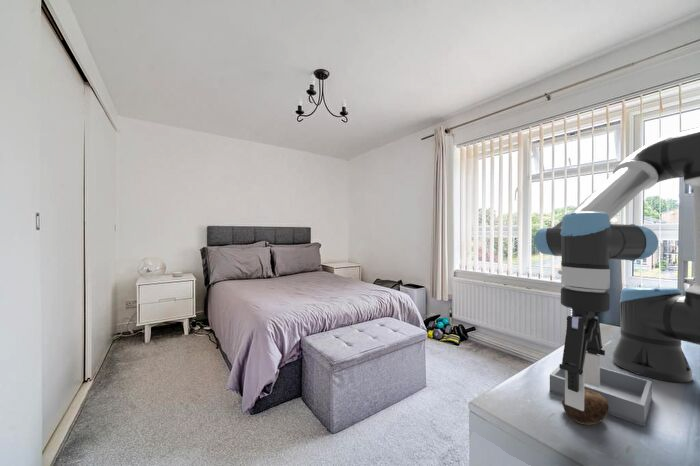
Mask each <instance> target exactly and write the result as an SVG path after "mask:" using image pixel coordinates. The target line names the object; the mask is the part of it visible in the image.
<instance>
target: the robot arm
mask: <svg viewBox="0 0 700 466" xmlns="http://www.w3.org/2000/svg"><path fill="white" fill-rule="evenodd" d="M677 178H683V183H684V184H686V185H688V186H690V187H691V188H692V190H693V191H692V192H693V245H694V246H693V254H694V257H693V258H694V260H693V261H694V283H693V284H692V285H691V286H689V287H687V288H685V289H684V291H685V292H684V293H685V294H683V293H682V291H681V289H680V288H676V287H655V286H654V287H653V286H651V287H650V286H643V287H642V286H640V287H639V286H637V287H636V286H634V287H633V286H631V287H624V288H622V290H621V292H620V297H619V298H620V299H619V306H620V307H619V310H620V311H619V312H620V313H619V314H620V315H619V316H620V317H619V318H620V323H619V324H620V326H619V327H620V336H619V339H618V341H617V343H616V346H615V348H614V350H613V352H612V363H614V364H615V365H616V366H618V367H620V368H621V369H624V370H626V371H628V372H630V373H634V374H638V375H640V376H643V377H647V378H651V379H654V380H660V381H664V382H671V383H672V382H673V383H690V382H692V380H693V371H692V369H691V366H690V364H689V362H688V359H687V357H686V355H685V353H684V351H683V348H682V341H683V342H687V343H691V344H694V345H698V346H700V126H699V127H696V128H693V129H688V130H684V131H679V132H678V133H677V132H676V133H672V134H669V135H665V136H662V137H660V138H657V139H656V140H653V141H651V142H650V143H647V144H645V145H644V146H642V147H641V148H638V150H636V151H634V152H633V153H632V154H629V156H627V157H626V158H625V159H624V160H623V161H621V162H620V163H619V164H618V165H616V166H615V168H614V169H613V171H612V175H611V176H609V178H608V179H606V181H604V182H602V184H601V185H600V186H599V187H597V188H596V189H595V190H594V191H593V192H592V193H591V194H590V195H588V196H587V197H586V198H585V199H584V200H583V201H582V202H581V203H580V204H579V205H578V206H576V207H575V208H574V209H573V210H572V211H570V213H566V214H564V215H563V217H562V220H561V221H560V222H558V223H557V224H556V225H554V226H547V227H541V228H540V229H538V231H537V232H536V233H535V235H534V238H533V239H534V241H533V242H534V246H535V247H536V249H537V251H538V252H539V253H541V254H543V255H546V256H547V255H548V256H554V257H561V263H560V267H561V268H560V269H559V270H558V271H557V274H559V275H561V277H560V283H561V285H562V286H564V287H561V288H560V304H561V305H562V306H563V307H566V308H568V309H569V308H570V309H572V316H571V315H567V317H566V330H565V338H564V345H563V354H562V361H561V363H559V364H558V365H559V366H558V367H560V369H563V370H565V404H566V405H569V406H571V407H574V408H576V409H579V410H581V411H584V383H587V384H590V385H593V386H596V387H600V367H601V356H604V357H605V355H606V350H604V349H603V345H602V335H601V326H600V324H601V323H600V313H605V312H608V311H610V293H609V292H608V291H607V290H610V289H611V269H610V260H616V261H617V260H618V261H620V260H621V261H623V260H624V261H631V262H632V261H635V260H636V261H637V260H639V261H640V260H644V259H647V258H649V257H651V256H653V255H654V254H655V253H656V252H657V250H658V247H659V238H658V236H657V234H656V232H654V231H653V230H652V229H650V228H648V227H646V226H643V225H638V224H637V225H636V224H632V223H631V224H622V223H621V224H618V223H617V224H616V223H614V224H613V223H612V222H611V220H612V219H614V217H615V216H616V215H617V214H618V213H619V212H620V211H622V210H623V209H624V208H625V207H626V206H627V205H628V204H629V203H630V202H631V201H632V200H634V199H635V198H636V197H637V195H639V194H640V193H641V192H642V191H646V190H649V189H651V188H653V187H654V186H655V185H656V184H657V183H659V182H662V181H663V182H664V181H667V180H672V179H677ZM570 363H571V364H574V365H575V366H574V365H571V364H570Z"/></svg>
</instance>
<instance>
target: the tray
mask: <svg viewBox="0 0 700 466" xmlns="http://www.w3.org/2000/svg"><path fill="white" fill-rule="evenodd" d="M570 364H571V363H570ZM571 365H574V364H571ZM574 366H575V365H574ZM652 382H653V381H652V380H649V379H644V378H642V377H638V376H634V375H632V374H627V373H623V372H620V371H617V370H613V369H609V368H605V367H602V366H600V387H596V386H593V385H590V384H587V383H584V389H586V390H590V391H594V392H597V393H599V394H600V395H602V396H603V397H604V398H605V399H606V400H607V402H608V406H609V409H608V413H607V414H609V415H612V416H614V417H617V418H620V419H622V420H625V421H628V422H631V423H632V424H633V423H634V424H636V425H638V426H641V427H645V426H646V423H647V419H648V416H649V415H648V414H649V411H650V407H651V404H652V399H653V395H652V394H653V389H652V387H653V385H652V384H653V383H652ZM549 392H550V393H551V394H555V395H556V396H557V395H558V396H561V397H563V396H564V394H565V370H563V369H560V367H559V366H558V367H556V368H555V369H554V370H553V371H552V372H551V373H550V374H549Z"/></svg>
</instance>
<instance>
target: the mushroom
mask: <svg viewBox="0 0 700 466" xmlns="http://www.w3.org/2000/svg"><path fill="white" fill-rule="evenodd" d="M561 403H562V408H563V410H564V412H565V413H566V415H567V416H568V417H569V418H570V419H571V420H572V421H574V422H576V423H578V424H582V425H587V426H588V425H596V424H598V423H599V422H602V421H603V420H605V419H607V416H608V414H609V413H608V409H609V406H608V402H607V400H606V399H605V398H604V397H603V396H602V395H600V394H599V393H597V392H594V391H590V390H586V389H584V411H581V410H579V409H576V408H574V407H571V406H569V405H566V404H565V394H564V396H562V401H561Z"/></svg>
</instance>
